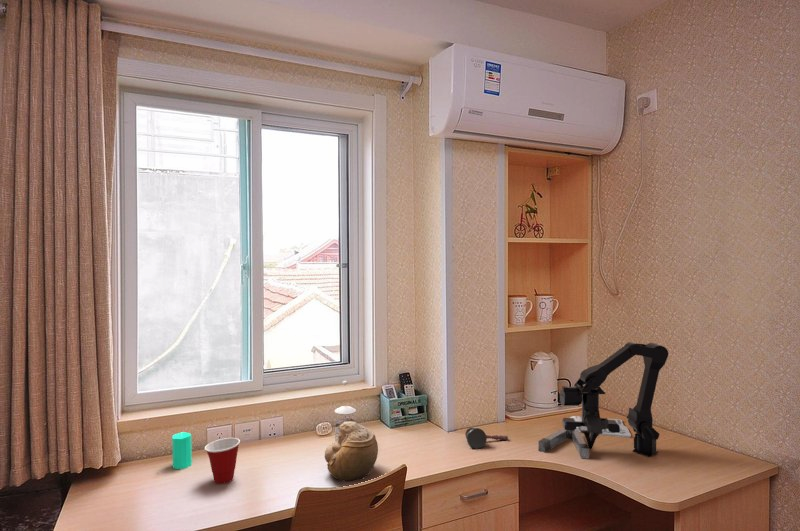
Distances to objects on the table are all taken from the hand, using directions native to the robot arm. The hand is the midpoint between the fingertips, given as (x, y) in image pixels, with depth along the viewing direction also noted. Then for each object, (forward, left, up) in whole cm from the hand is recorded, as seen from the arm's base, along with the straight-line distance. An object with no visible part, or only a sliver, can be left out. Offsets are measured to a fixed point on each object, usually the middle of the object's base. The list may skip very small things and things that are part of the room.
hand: (590, 448), depth 177 cm
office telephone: (+14, -27, -2) cm, 30 cm away
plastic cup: (+58, +113, -2) cm, 127 cm away
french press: (+59, +67, -2) cm, 90 cm away
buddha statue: (+37, +78, -2) cm, 86 cm away
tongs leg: (+4, 0, -1) cm, 4 cm away
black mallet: (+28, +23, -2) cm, 37 cm away
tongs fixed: (+12, +2, -1) cm, 12 cm away
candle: (+78, +121, -2) cm, 144 cm away
